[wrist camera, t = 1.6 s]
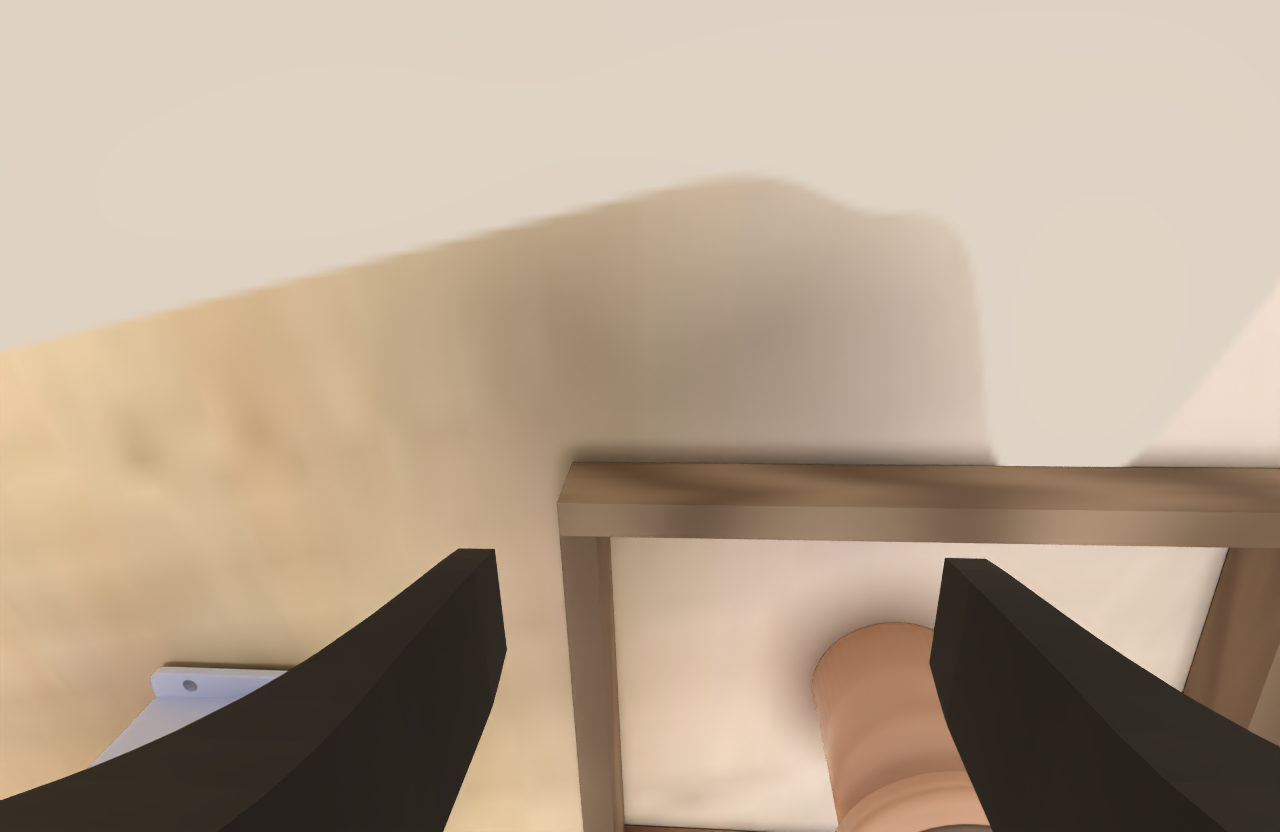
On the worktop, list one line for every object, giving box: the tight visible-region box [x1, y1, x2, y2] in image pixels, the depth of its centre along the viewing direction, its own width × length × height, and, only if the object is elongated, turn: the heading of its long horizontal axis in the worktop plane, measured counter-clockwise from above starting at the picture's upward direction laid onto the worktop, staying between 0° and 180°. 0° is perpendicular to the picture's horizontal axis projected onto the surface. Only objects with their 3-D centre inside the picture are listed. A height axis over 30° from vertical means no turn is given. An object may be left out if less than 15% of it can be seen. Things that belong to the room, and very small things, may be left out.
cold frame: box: [557, 462, 1280, 832], centre depth 22 cm, size 20×16×2 cm
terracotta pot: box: [813, 623, 993, 832], centre depth 20 cm, size 6×6×7 cm
